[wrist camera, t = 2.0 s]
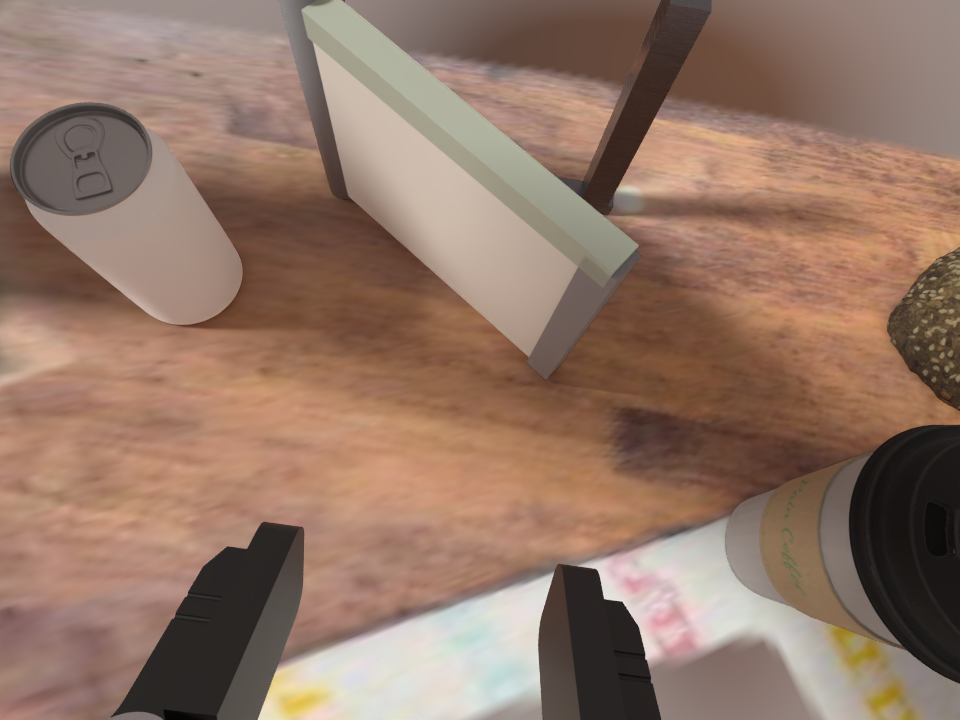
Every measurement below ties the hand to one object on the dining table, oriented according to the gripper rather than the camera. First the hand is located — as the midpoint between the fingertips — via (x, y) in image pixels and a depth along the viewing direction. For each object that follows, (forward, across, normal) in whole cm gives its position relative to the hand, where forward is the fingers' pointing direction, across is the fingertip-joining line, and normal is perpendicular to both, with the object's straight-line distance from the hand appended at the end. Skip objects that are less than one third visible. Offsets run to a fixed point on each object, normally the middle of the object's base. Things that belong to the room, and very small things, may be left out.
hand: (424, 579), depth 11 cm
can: (+26, +17, +6) cm, 31 cm away
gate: (+28, +2, +3) cm, 28 cm away
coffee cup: (+18, -20, +14) cm, 30 cm away
